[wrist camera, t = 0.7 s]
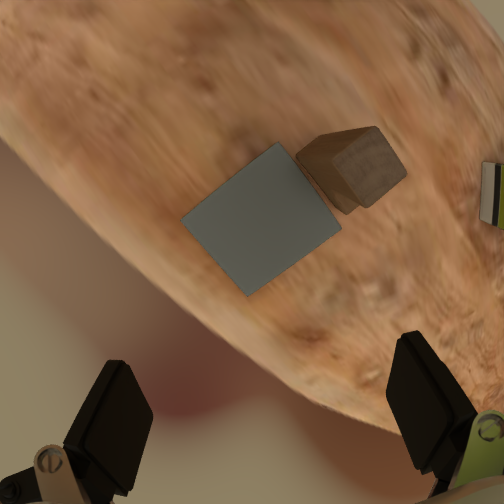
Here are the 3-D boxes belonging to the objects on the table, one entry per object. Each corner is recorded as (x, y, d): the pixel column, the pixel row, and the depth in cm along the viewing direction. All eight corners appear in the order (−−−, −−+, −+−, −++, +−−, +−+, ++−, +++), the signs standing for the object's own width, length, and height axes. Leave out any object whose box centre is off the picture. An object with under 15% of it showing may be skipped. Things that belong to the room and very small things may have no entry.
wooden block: (362, 188, 37) (436, 221, 20) (336, 209, 38) (396, 257, 21) (321, 133, 35) (377, 123, 18) (294, 155, 36) (330, 160, 19)
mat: (277, 141, 35) (278, 141, 34) (340, 227, 39) (342, 228, 38) (181, 219, 38) (180, 220, 38) (247, 294, 42) (247, 296, 41)
